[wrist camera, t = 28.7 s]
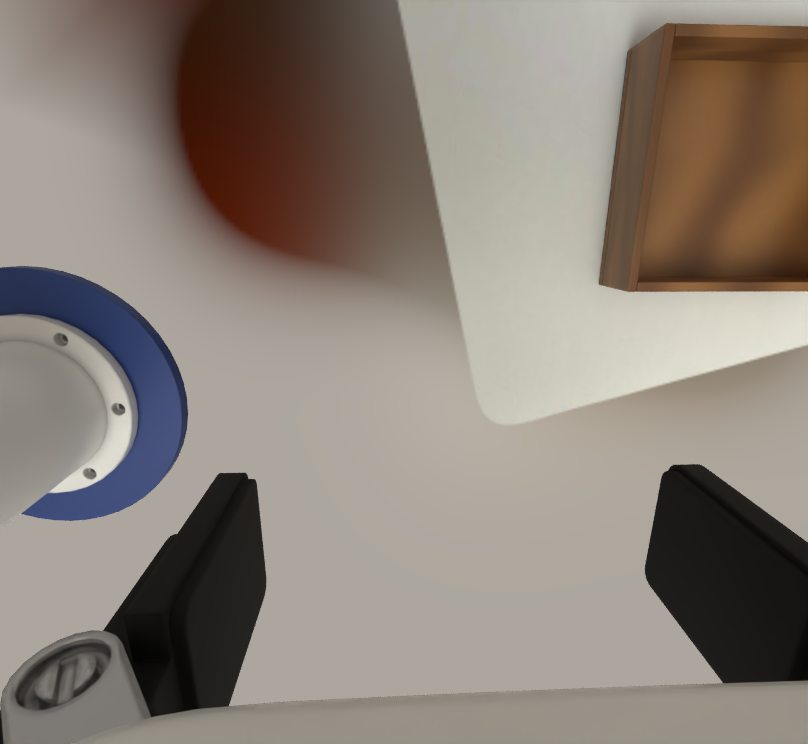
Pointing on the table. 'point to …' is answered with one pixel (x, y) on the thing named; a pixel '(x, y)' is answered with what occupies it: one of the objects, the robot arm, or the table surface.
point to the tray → (711, 162)
